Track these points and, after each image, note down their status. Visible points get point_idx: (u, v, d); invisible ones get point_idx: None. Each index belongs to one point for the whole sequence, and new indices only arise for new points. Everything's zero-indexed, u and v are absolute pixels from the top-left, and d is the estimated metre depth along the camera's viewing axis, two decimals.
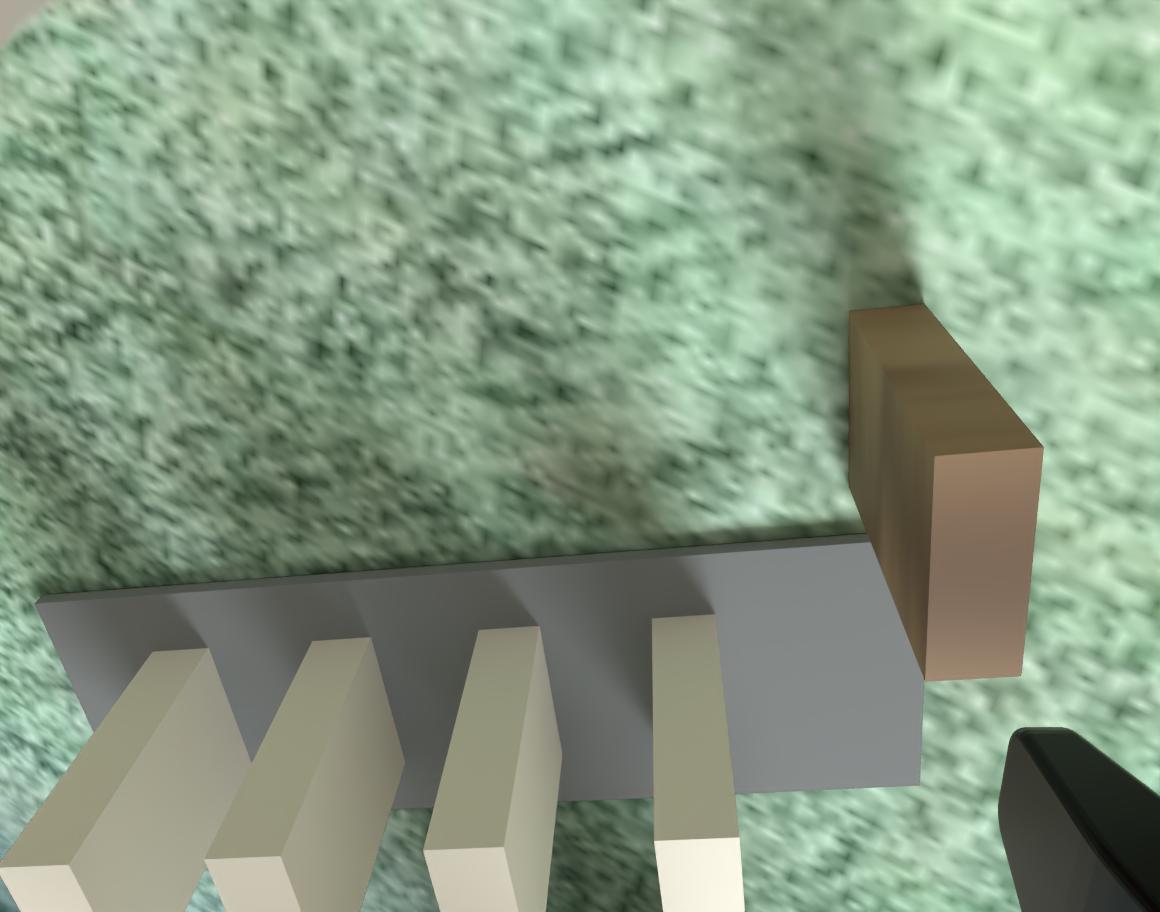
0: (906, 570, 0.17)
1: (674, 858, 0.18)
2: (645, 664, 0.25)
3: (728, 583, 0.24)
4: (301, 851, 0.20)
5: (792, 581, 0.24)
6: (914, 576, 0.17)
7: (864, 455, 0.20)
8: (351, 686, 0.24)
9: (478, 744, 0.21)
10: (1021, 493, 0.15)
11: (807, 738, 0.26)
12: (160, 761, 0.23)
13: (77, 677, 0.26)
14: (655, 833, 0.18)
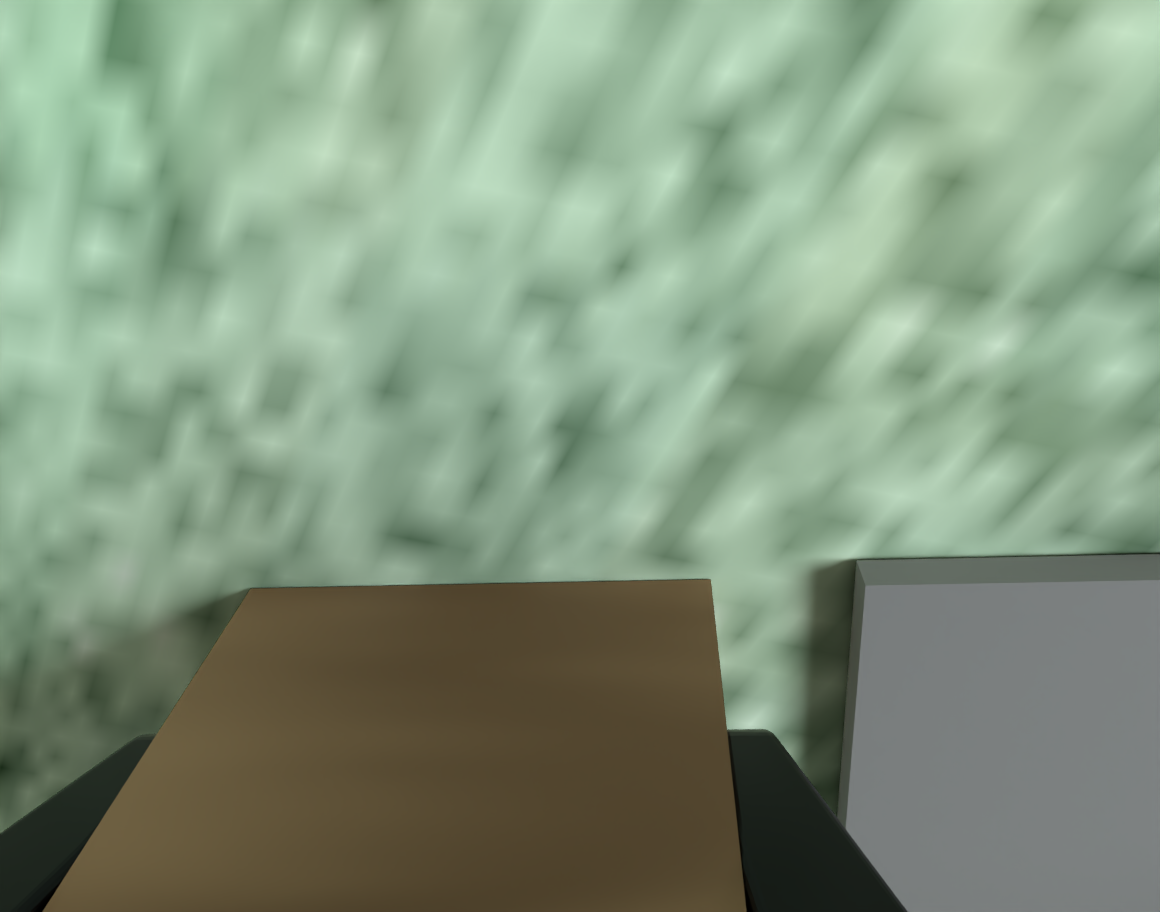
0: None
1: None
2: None
3: None
4: None
5: (942, 853, 0.10)
6: None
7: None
8: None
9: None
10: None
11: None
12: None
13: None
14: None
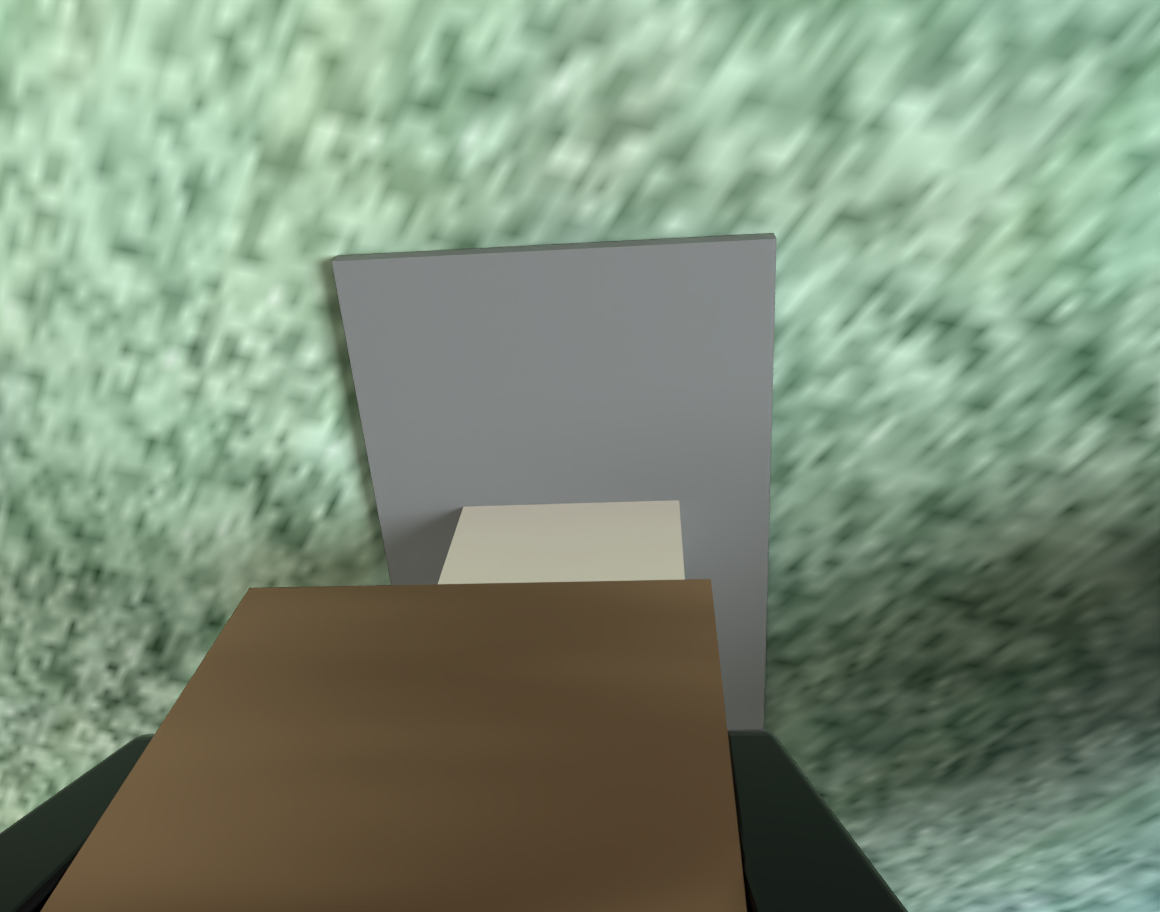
0: None
1: None
2: None
3: (417, 491, 0.20)
4: None
5: (409, 421, 0.19)
6: None
7: None
8: None
9: None
10: None
11: (671, 399, 0.18)
12: None
13: None
14: None
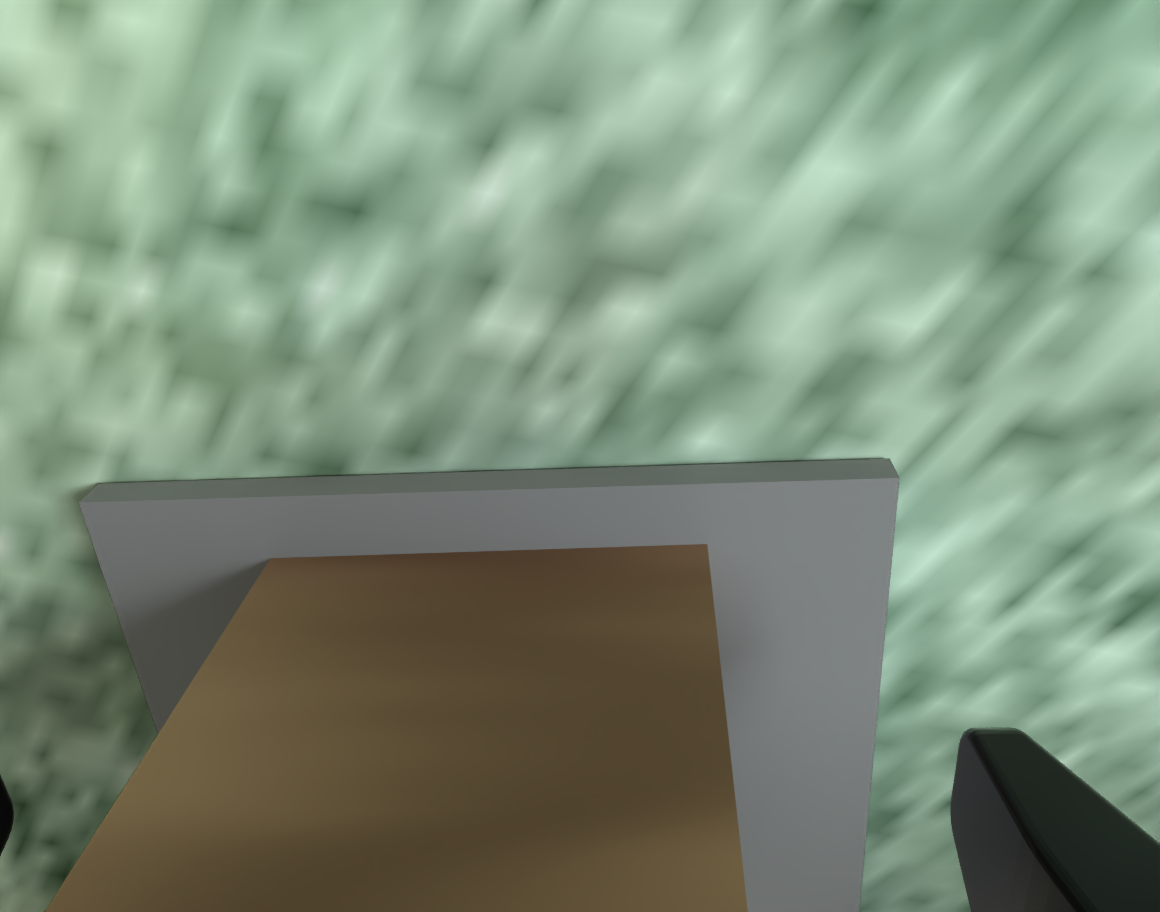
0: None
1: None
2: None
3: None
4: None
5: None
6: None
7: None
8: None
9: None
10: None
11: None
12: None
13: None
14: None
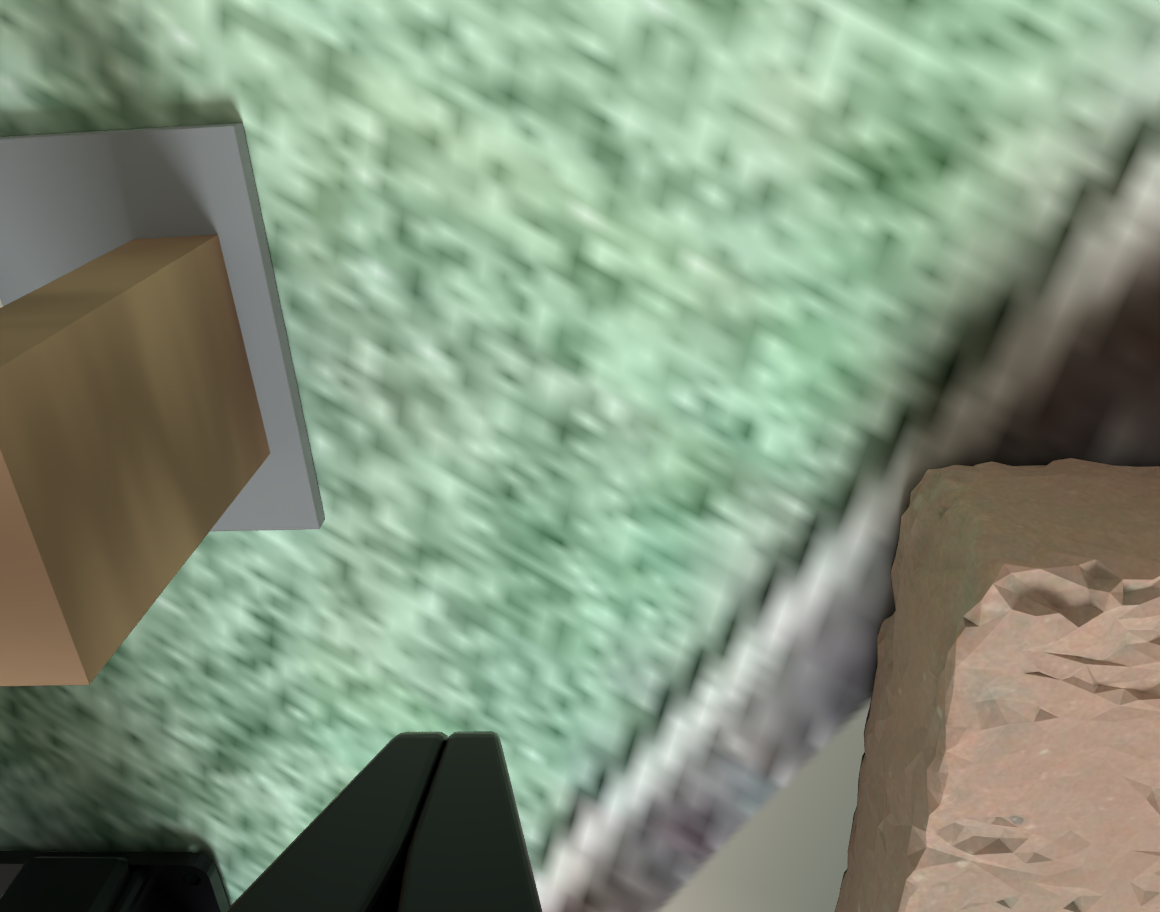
0: None
1: None
2: None
3: None
4: None
5: (69, 193, 0.17)
6: None
7: None
8: None
9: None
10: None
11: None
12: None
13: None
14: None
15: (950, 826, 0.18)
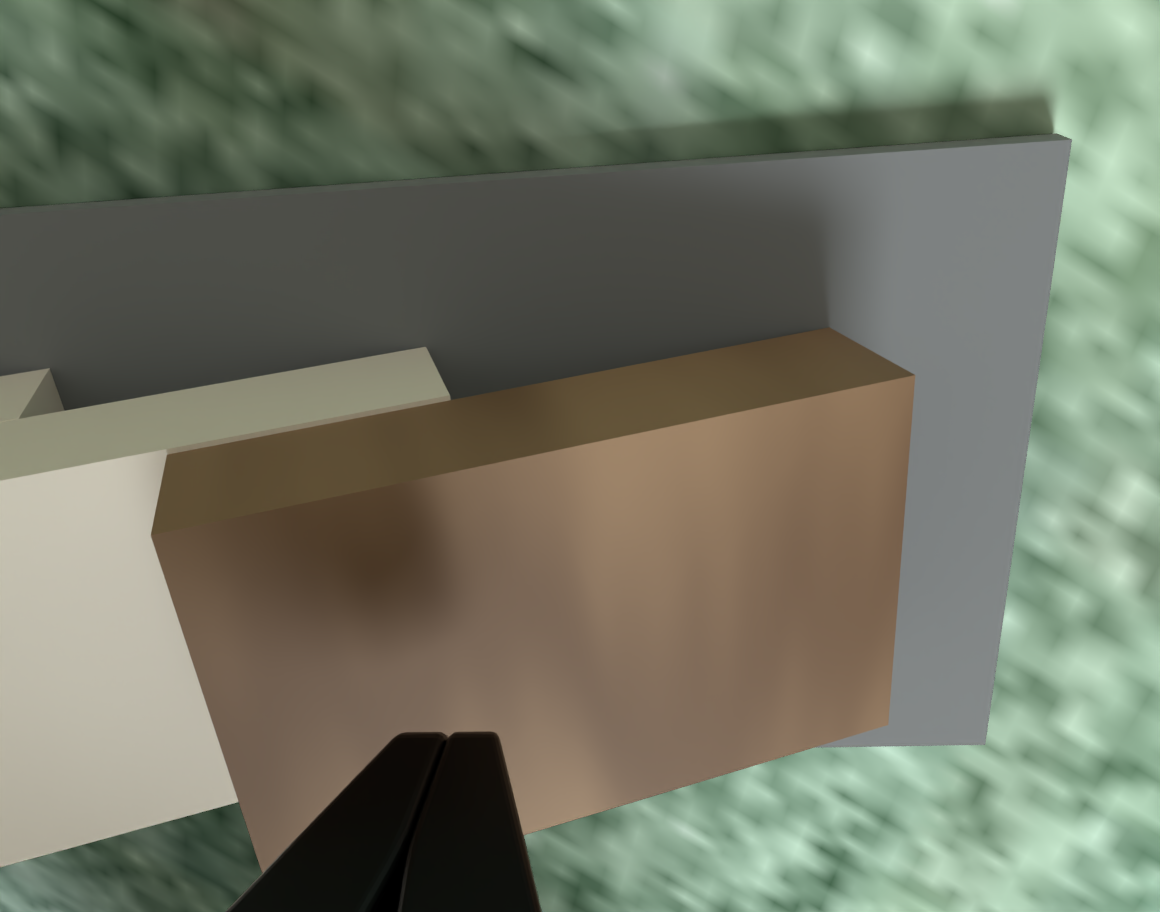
0: None
1: None
2: None
3: (599, 258, 0.10)
4: None
5: (744, 255, 0.10)
6: None
7: None
8: None
9: None
10: None
11: None
12: None
13: None
14: None
15: None
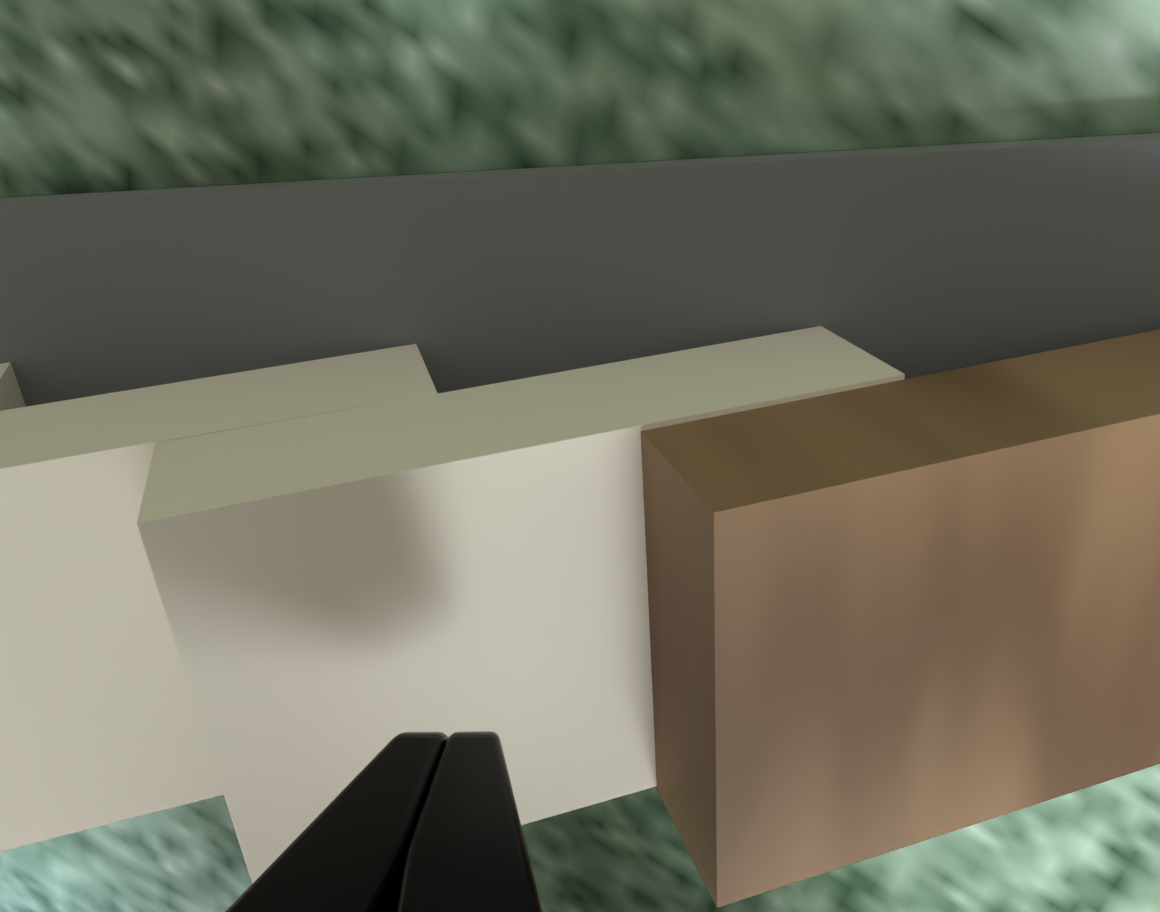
0: None
1: None
2: None
3: (1024, 235, 0.10)
4: None
5: None
6: None
7: None
8: None
9: (8, 431, 0.10)
10: (700, 579, 0.08)
11: None
12: None
13: None
14: (175, 441, 0.09)
15: None
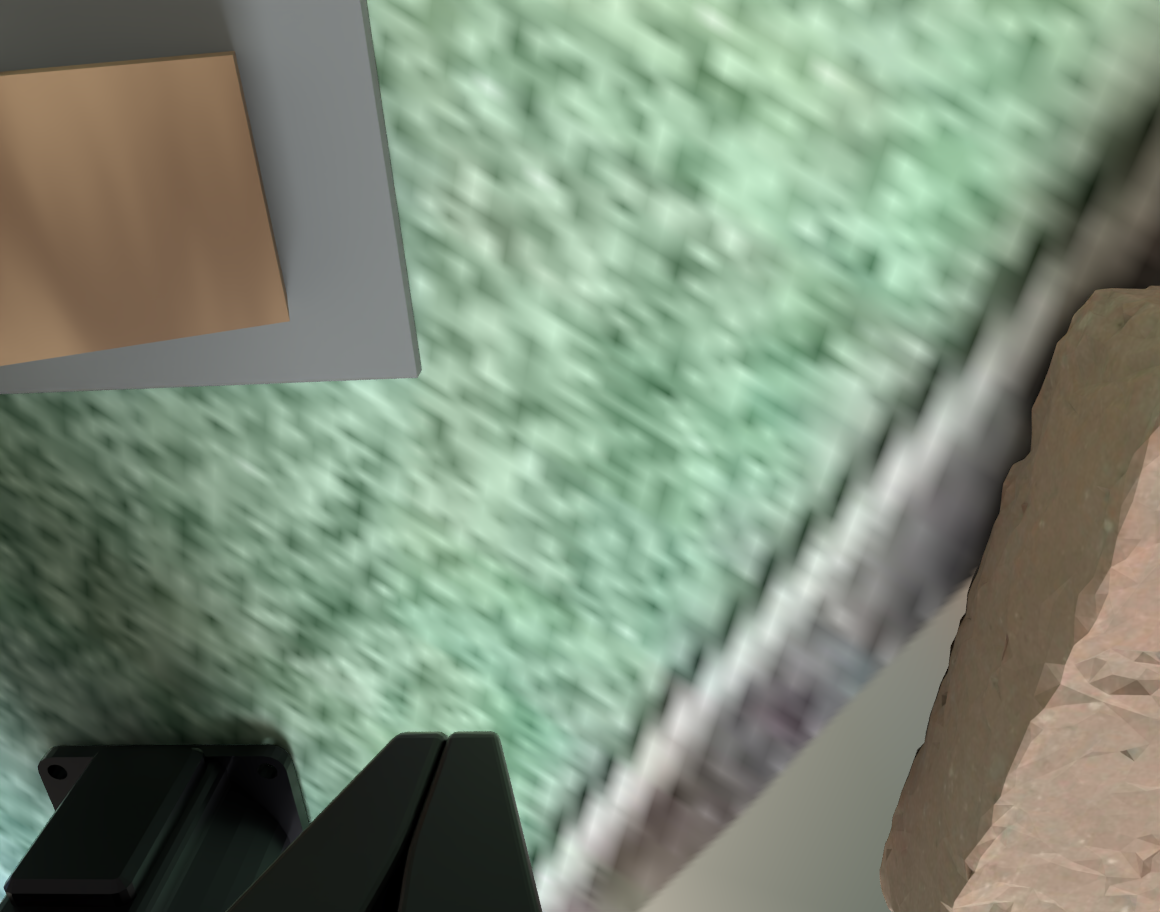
0: None
1: None
2: None
3: (80, 1, 0.16)
4: None
5: None
6: None
7: None
8: None
9: None
10: None
11: None
12: None
13: None
14: None
15: (1090, 660, 0.17)
